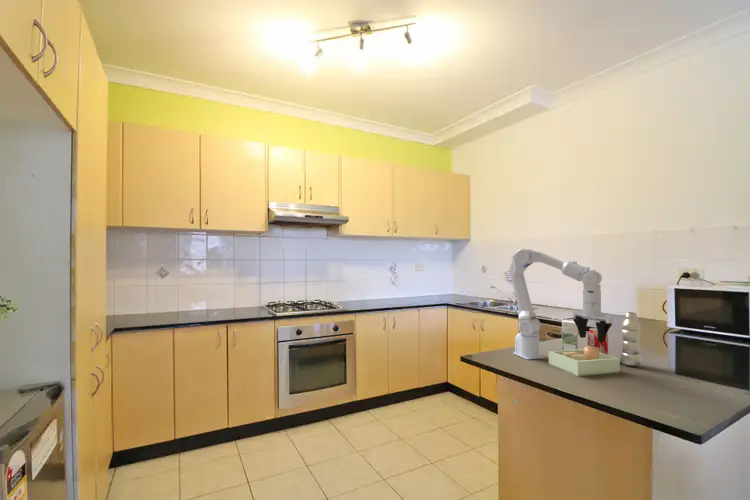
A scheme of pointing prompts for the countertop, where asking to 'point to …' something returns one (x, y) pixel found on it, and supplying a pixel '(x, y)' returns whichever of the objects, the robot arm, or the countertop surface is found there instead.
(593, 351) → the terracotta cylinder
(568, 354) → the maple cube
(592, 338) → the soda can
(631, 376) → the countertop surface
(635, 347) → the plastic bottle
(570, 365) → the sage tote
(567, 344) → the syrup box
